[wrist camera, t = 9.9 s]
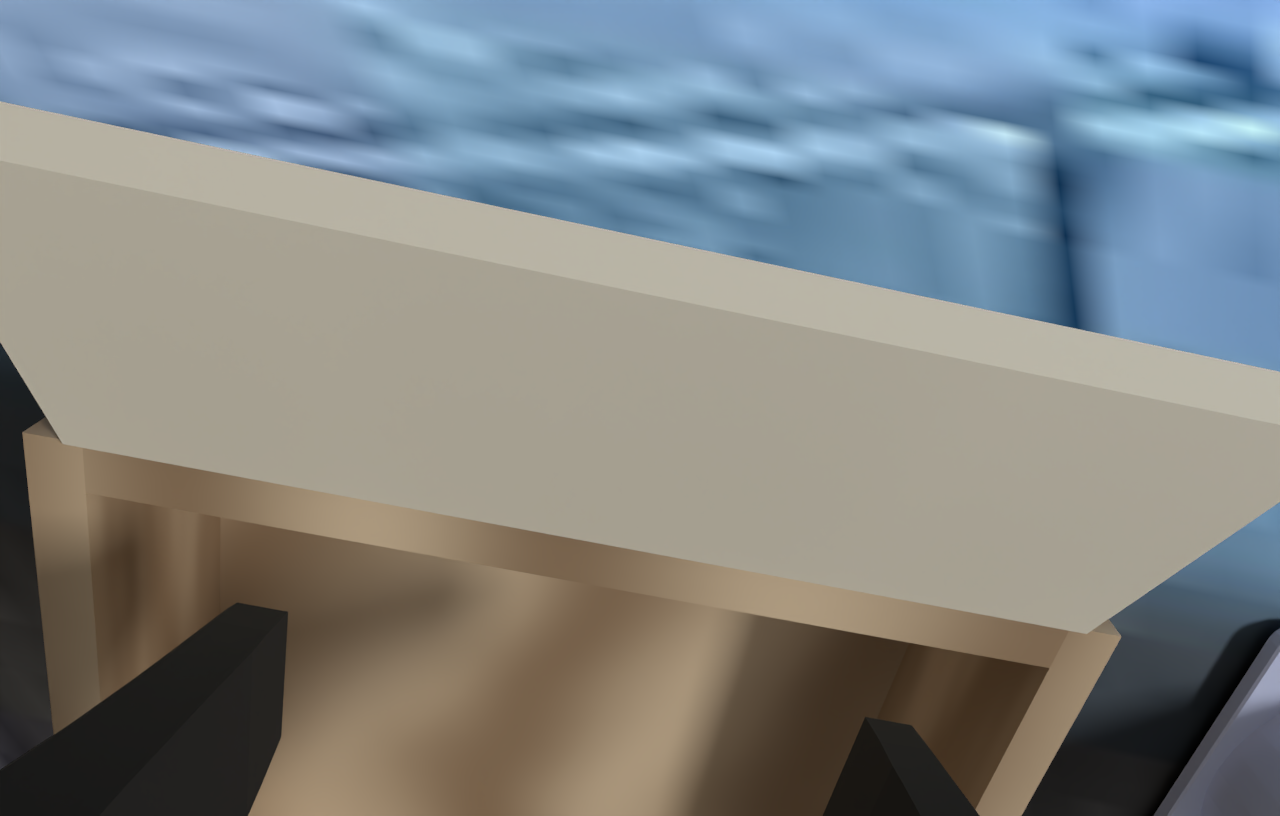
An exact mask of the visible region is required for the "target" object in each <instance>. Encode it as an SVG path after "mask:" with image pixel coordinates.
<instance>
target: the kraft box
mask: <svg viewBox="0 0 1280 816" xmlns="http://www.w3.org/2000/svg"><path fill="white" fill-rule="evenodd" d="M22 434H23V444H24V453H25V463H26V473H27V482H28V492H29V502H30V511H31V521H32V531H33V540H34V550H35V560H36V569H37V579H38V589H39V598H40V608H41V618H42V627H43V637H44V647H45V656H46V666H47V676H48V685H49V695H50V705H51V714H52V724H53V734H56V733H57V732H59V731H60V730H62V729H63V728H65V727H66V726H68V725H69V724H71V723H72V722H73V721H75V720H76V719H78V718H79V717H81V716H82V715H83V714H85V713H86V712H88V711H89V710H90V709H92V708H93V707H95V706H96V705H97V704H99V703H100V702H102V701H103V700H104V699H106V698H107V697H109V696H110V695H112V694H113V693H114V692H116V691H117V690H119V689H120V688H121V687H123V686H124V685H126V684H127V683H128V682H130V681H131V680H133V679H134V678H135V677H137V676H138V675H139V674H141V673H142V672H143V671H145V670H146V669H148V668H149V667H150V666H152V665H153V664H154V663H156V662H157V661H158V660H160V659H161V658H162V657H164V656H165V655H166V654H168V653H169V652H170V651H172V650H173V649H174V648H176V647H177V646H178V645H180V644H181V643H182V642H184V641H185V640H186V639H188V638H189V637H190V636H191V635H193V634H194V633H195V632H197V631H198V630H199V629H201V628H202V627H203V626H205V625H206V624H207V623H209V622H210V621H211V620H212V619H214V618H215V617H216V616H218V615H219V614H220V613H222V612H223V611H224V610H226V609H227V608H229V607H230V606H232V605H234V604H235V603H243V604H248V605H254V606H259V607H265V608H270V609H276V610H281V611H287V612H288V625H287V643H286V661H285V679H284V697H283V715H282V733H281V739H280V741H279V744H278V746H277V749H276V751H275V753H274V756H273V758H272V761H271V763H270V766H269V768H268V770H267V773H266V775H265V778H264V780H263V783H262V785H261V787H260V789H259V792H258V794H257V796H256V799H255V801H254V803H253V806H252V808H251V810H250V813H249V815H248V816H823V813H824V811H825V809H826V806H827V804H828V802H829V800H830V797H831V795H832V793H833V790H834V788H835V786H836V783H837V781H838V779H839V776H840V774H841V772H842V769H843V767H844V765H845V762H846V760H847V758H848V756H849V753H850V751H851V749H852V746H853V744H854V742H855V739H856V737H857V735H858V732H859V730H860V728H861V725H862V723H863V721H864V718H865V717H869V718H874V719H880V720H885V721H891V722H896V723H902V724H907V725H912V726H913V728H914V729H915V730H916V731H917V733H918V734H919V735H920V736H921V738H922V739H923V740H924V742H925V743H926V744H927V746H928V747H929V748H930V750H931V751H932V752H933V754H934V755H935V756H936V758H937V759H938V760H939V762H940V763H941V764H942V766H943V767H944V768H945V770H946V771H947V772H948V774H949V775H950V776H951V778H952V779H953V780H954V782H955V783H956V785H957V786H958V787H959V789H960V790H961V791H962V793H963V794H964V795H965V797H966V798H967V799H968V801H969V802H970V803H971V805H972V806H973V807H974V809H975V810H976V811H977V813H978V814H979V815H980V816H1022V814H1023V812H1024V810H1025V808H1026V807H1027V805H1028V803H1029V801H1030V800H1031V798H1032V796H1033V794H1034V792H1035V791H1036V789H1037V787H1038V785H1039V783H1040V782H1041V780H1042V778H1043V776H1044V774H1045V773H1046V771H1047V769H1048V767H1049V765H1050V764H1051V762H1052V760H1053V758H1054V757H1055V755H1056V753H1057V751H1058V749H1059V748H1060V746H1061V744H1062V742H1063V740H1064V739H1065V737H1066V735H1067V733H1068V731H1069V730H1070V728H1071V726H1072V724H1073V723H1074V721H1075V719H1076V717H1077V715H1078V714H1079V712H1080V710H1081V708H1082V706H1083V705H1084V703H1085V701H1086V699H1087V697H1088V696H1089V694H1090V692H1091V690H1092V688H1093V687H1094V685H1095V683H1096V681H1097V680H1098V678H1099V676H1100V674H1101V672H1102V671H1103V669H1104V667H1105V665H1106V663H1107V662H1108V660H1109V658H1110V656H1111V654H1112V653H1113V651H1114V649H1115V647H1116V646H1117V644H1118V642H1119V640H1120V638H1121V635H1120V634H1119V633H1118V631H1117V630H1116V629H1115V627H1114V626H1113V624H1112V623H1111V622H1110V620H1109V619H1108V620H1106V621H1105V622H1103V623H1102V624H1101V625H1099V626H1098V627H1096V628H1095V629H1093V630H1092V631H1090V632H1089V633H1087V634H1084V633H1079V632H1073V631H1068V630H1062V629H1057V628H1052V627H1046V626H1041V625H1035V624H1030V623H1025V622H1019V621H1014V620H1008V619H1003V618H998V617H992V616H987V615H981V614H976V613H971V612H965V611H960V610H955V609H949V608H944V607H938V606H933V605H928V604H922V603H917V602H911V601H906V600H901V599H895V598H890V597H884V596H879V595H874V594H868V593H863V592H857V591H852V590H847V589H841V588H836V587H830V586H825V585H820V584H814V583H809V582H804V581H798V580H793V579H787V578H782V577H777V576H771V575H766V574H760V573H755V572H750V571H744V570H739V569H733V568H728V567H723V566H717V565H712V564H706V563H701V562H696V561H690V560H685V559H680V558H674V557H669V556H663V555H658V554H653V553H647V552H642V551H636V550H631V549H626V548H620V547H615V546H609V545H604V544H599V543H593V542H588V541H582V540H577V539H572V538H566V537H561V536H556V535H550V534H545V533H539V532H534V531H529V530H523V529H518V528H512V527H507V526H502V525H496V524H491V523H485V522H480V521H475V520H469V519H464V518H458V517H453V516H448V515H442V514H437V513H431V512H426V511H421V510H415V509H410V508H405V507H399V506H394V505H388V504H383V503H378V502H372V501H367V500H361V499H356V498H351V497H345V496H340V495H334V494H329V493H324V492H318V491H313V490H307V489H302V488H297V487H291V486H286V485H281V484H275V483H270V482H264V481H259V480H254V479H248V478H243V477H237V476H232V475H227V474H221V473H216V472H210V471H205V470H200V469H194V468H189V467H183V466H178V465H173V464H167V463H162V462H157V461H151V460H146V459H140V458H135V457H130V456H124V455H119V454H113V453H108V452H103V451H97V450H92V449H86V448H81V447H76V446H70V445H65V444H62V442H61V440H60V439H59V437H58V436H57V434H56V432H55V431H54V429H53V427H52V426H51V424H50V423H49V421H48V419H47V418H46V417H45V418H43V419H42V420H40V421H39V422H37V423H36V424H34V425H33V426H31V427H30V428H28V429H27V430H25V431H24V432H22Z"/></svg>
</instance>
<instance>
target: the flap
mask: <svg viewBox="0 0 1280 816" xmlns="http://www.w3.org/2000/svg"><path fill="white" fill-rule="evenodd" d="M0 343H1V344H2V346H3V348H4V349H5V351H6V352H7V354H8V356H9V357H10V359H11V361H12V362H13V364H14V365H15V367H16V369H17V370H18V372H19V374H20V375H21V377H22V379H23V380H24V382H25V383H26V385H27V387H28V388H29V390H30V392H31V393H32V395H33V396H34V398H35V400H36V401H37V403H38V405H39V406H40V408H41V409H42V411H43V413H44V414H45V416H46V418H47V419H48V421H49V423H50V424H51V426H52V427H53V429H54V431H55V432H56V434H57V436H58V437H59V439H60V440H61V442H62V444H65V445H70V446H76V447H81V448H86V449H92V450H97V451H103V452H108V453H113V454H119V455H124V456H130V457H135V458H140V459H146V460H151V461H157V462H162V463H167V464H173V465H178V466H183V467H189V468H194V469H200V470H205V471H210V472H216V473H221V474H227V475H232V476H237V477H243V478H248V479H254V480H259V481H264V482H270V483H275V484H281V485H286V486H291V487H297V488H302V489H307V490H313V491H318V492H324V493H329V494H334V495H340V496H345V497H351V498H356V499H361V500H367V501H372V502H378V503H383V504H388V505H394V506H399V507H405V508H410V509H415V510H421V511H426V512H431V513H437V514H442V515H448V516H453V517H458V518H464V519H469V520H475V521H480V522H485V523H491V524H496V525H502V526H507V527H512V528H518V529H523V530H529V531H534V532H539V533H545V534H550V535H556V536H561V537H566V538H572V539H577V540H582V541H588V542H593V543H599V544H604V545H609V546H615V547H620V548H626V549H631V550H636V551H642V552H647V553H653V554H658V555H663V556H669V557H674V558H680V559H685V560H690V561H696V562H701V563H706V564H712V565H717V566H723V567H728V568H733V569H739V570H744V571H750V572H755V573H760V574H766V575H771V576H777V577H782V578H787V579H793V580H798V581H804V582H809V583H814V584H820V585H825V586H830V587H836V588H841V589H847V590H852V591H857V592H863V593H868V594H874V595H879V596H884V597H890V598H895V599H901V600H906V601H911V602H917V603H922V604H928V605H933V606H938V607H944V608H949V609H955V610H960V611H965V612H971V613H976V614H981V615H987V616H992V617H998V618H1003V619H1008V620H1014V621H1019V622H1025V623H1030V624H1035V625H1041V626H1046V627H1052V628H1057V629H1062V630H1068V631H1073V632H1079V633H1084V634H1087V633H1089V632H1090V631H1092V630H1093V629H1095V628H1096V627H1098V626H1099V625H1101V624H1102V623H1103V622H1105V621H1106V620H1108V619H1109V618H1111V617H1112V616H1114V615H1115V614H1117V613H1118V612H1120V611H1121V610H1122V609H1124V608H1125V607H1127V606H1128V605H1130V604H1131V603H1133V602H1134V601H1136V600H1137V599H1139V598H1140V597H1141V596H1143V595H1144V594H1146V593H1147V592H1149V591H1150V590H1152V589H1153V588H1155V587H1156V586H1158V585H1159V584H1160V583H1162V582H1163V581H1165V580H1166V579H1168V578H1169V577H1171V576H1172V575H1174V574H1175V573H1177V572H1178V571H1179V570H1181V569H1182V568H1184V567H1185V566H1187V565H1188V564H1190V563H1191V562H1193V561H1194V560H1196V559H1197V558H1198V557H1200V556H1201V555H1203V554H1204V553H1206V552H1207V551H1209V550H1210V549H1212V548H1213V547H1215V546H1216V545H1217V544H1219V543H1220V542H1222V541H1223V540H1225V539H1226V538H1228V537H1229V536H1231V535H1232V534H1234V533H1235V532H1236V531H1238V530H1239V529H1241V528H1242V527H1244V526H1245V525H1247V524H1248V523H1250V522H1251V521H1253V520H1254V519H1255V518H1257V517H1258V516H1260V515H1261V514H1263V513H1264V512H1266V511H1267V510H1269V509H1270V508H1272V507H1273V506H1274V505H1276V504H1277V503H1279V502H1280V372H1278V371H1273V370H1269V369H1264V368H1259V367H1254V366H1250V365H1245V364H1240V363H1236V362H1231V361H1226V360H1221V359H1217V358H1212V357H1207V356H1202V355H1198V354H1193V353H1188V352H1183V351H1179V350H1174V349H1169V348H1164V347H1160V346H1155V345H1150V344H1146V343H1141V342H1136V341H1131V340H1127V339H1122V338H1117V337H1112V336H1108V335H1103V334H1098V333H1093V332H1089V331H1084V330H1079V329H1075V328H1070V327H1065V326H1060V325H1056V324H1051V323H1046V322H1041V321H1037V320H1032V319H1027V318H1022V317H1018V316H1013V315H1008V314H1004V313H999V312H994V311H989V310H985V309H980V308H975V307H970V306H966V305H961V304H956V303H951V302H947V301H942V300H937V299H933V298H928V297H923V296H918V295H914V294H909V293H904V292H899V291H895V290H890V289H885V288H880V287H876V286H871V285H866V284H862V283H857V282H852V281H847V280H843V279H838V278H833V277H828V276H824V275H819V274H814V273H809V272H805V271H800V270H795V269H790V268H786V267H781V266H776V265H772V264H767V263H762V262H757V261H753V260H748V259H743V258H738V257H734V256H729V255H724V254H719V253H715V252H710V251H705V250H701V249H696V248H691V247H686V246H682V245H677V244H672V243H667V242H663V241H658V240H653V239H648V238H644V237H639V236H634V235H630V234H625V233H620V232H615V231H611V230H606V229H601V228H596V227H592V226H587V225H582V224H577V223H573V222H568V221H563V220H559V219H554V218H549V217H544V216H540V215H535V214H530V213H525V212H521V211H516V210H511V209H506V208H502V207H497V206H492V205H487V204H483V203H478V202H473V201H469V200H464V199H459V198H454V197H450V196H445V195H440V194H435V193H431V192H426V191H421V190H416V189H412V188H407V187H402V186H398V185H393V184H388V183H383V182H379V181H374V180H369V179H364V178H360V177H355V176H350V175H345V174H341V173H336V172H331V171H327V170H322V169H317V168H312V167H308V166H303V165H298V164H293V163H289V162H284V161H279V160H274V159H270V158H265V157H260V156H256V155H251V154H246V153H241V152H237V151H232V150H227V149H222V148H218V147H213V146H208V145H203V144H199V143H194V142H189V141H184V140H180V139H175V138H170V137H166V136H161V135H156V134H151V133H147V132H142V131H137V130H132V129H128V128H123V127H118V126H113V125H109V124H104V123H99V122H95V121H90V120H85V119H80V118H76V117H71V116H66V115H61V114H57V113H52V112H47V111H42V110H38V109H33V108H28V107H24V106H19V105H14V104H9V103H5V102H0Z"/></svg>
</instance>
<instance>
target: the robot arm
mask: <svg viewBox="0 0 1280 816" xmlns="http://www.w3.org/2000/svg"><path fill="white" fill-rule="evenodd" d="M287 625H288V612H287V611H281V610H276V609H270V608H265V607H259V606H254V605H248V604H243V603H235V604H234V605H232V606H230V607H229V608H227V609H226V610H224V611H223V612H222V613H220V614H219V615H218V616H216V617H215V618H214V619H212V620H211V621H210V622H209V623H207V624H206V625H205V626H203V627H202V628H201V629H199V630H198V631H197V632H195V633H194V634H193V635H191V636H190V637H189V638H188V639H186V640H185V641H184V642H182V643H181V644H180V645H178V646H177V647H176V648H174V649H173V650H172V651H170V652H169V653H168V654H166V655H165V656H164V657H162V658H161V659H160V660H158V661H157V662H156V663H154V664H153V665H152V666H150V667H149V668H148V669H146V670H145V671H143V672H142V673H141V674H139V675H138V676H137V677H135V678H134V679H133V680H131V681H130V682H128V683H127V684H126V685H124V686H123V687H121V688H120V689H119V690H117V691H116V692H114V693H113V694H112V695H110V696H109V697H107V698H106V699H104V700H103V701H102V702H100V703H99V704H97V705H96V706H95V707H93V708H92V709H90V710H89V711H88V712H86V713H85V714H83V715H82V716H81V717H79V718H78V719H76V720H75V721H73V722H72V723H71V724H69V725H68V726H66V727H65V728H63V729H62V730H60V731H59V732H57V733H56V734H54V735H53V736H51V737H50V738H48V739H47V740H45V741H44V742H42V743H40V744H39V745H37V746H36V747H34V748H33V749H31V750H30V751H28V752H27V753H25V754H24V755H22V756H21V757H19V758H17V759H16V760H14V761H13V762H11V763H10V764H8V765H7V766H5V767H4V768H2V769H1V770H0V816H248V815H249V813H250V810H251V808H252V806H253V803H254V801H255V799H256V796H257V794H258V792H259V789H260V787H261V785H262V783H263V780H264V778H265V775H266V773H267V770H268V768H269V766H270V763H271V761H272V758H273V756H274V753H275V751H276V749H277V746H278V744H279V741H280V739H281V733H282V715H283V697H284V679H285V661H286V643H287ZM823 816H980V815H979V814H978V813H977V811H976V810H975V809H974V807H973V806H972V805H971V803H970V802H969V801H968V799H967V798H966V797H965V795H964V794H963V793H962V791H961V790H960V789H959V787H958V786H957V785H956V783H955V782H954V780H953V779H952V778H951V776H950V775H949V774H948V772H947V771H946V770H945V768H944V767H943V766H942V764H941V763H940V762H939V760H938V759H937V758H936V756H935V755H934V754H933V752H932V751H931V750H930V748H929V747H928V746H927V744H926V743H925V742H924V740H923V739H922V738H921V736H920V735H919V734H918V733H917V731H916V730H915V729H914V728H913V726H912V725H907V724H902V723H896V722H891V721H885V720H880V719H874V718H869V717H865V718H864V721H863V723H862V725H861V728H860V730H859V732H858V735H857V737H856V739H855V742H854V744H853V746H852V749H851V751H850V753H849V756H848V758H847V760H846V762H845V765H844V767H843V769H842V772H841V774H840V776H839V779H838V781H837V783H836V786H835V788H834V790H833V793H832V795H831V797H830V800H829V802H828V804H827V806H826V809H825V811H824V813H823ZM1154 816H1280V629H1278V630H1276V631H1275V632H1274V633H1273V634H1272V635H1271V636H1270V637H1269V638H1268V640H1267V642H1266V643H1265V645H1264V646H1263V648H1262V649H1261V651H1260V652H1259V654H1258V655H1257V657H1256V658H1255V660H1254V662H1253V663H1252V665H1251V666H1250V668H1249V669H1248V671H1247V672H1246V674H1245V675H1244V677H1243V678H1242V680H1241V682H1240V683H1239V685H1238V686H1237V688H1236V689H1235V691H1234V692H1233V694H1232V695H1231V697H1230V698H1229V700H1228V702H1227V703H1226V705H1225V706H1224V708H1223V709H1222V711H1221V712H1220V714H1219V715H1218V717H1217V719H1216V720H1215V722H1214V723H1213V725H1212V726H1211V728H1210V729H1209V731H1208V732H1207V734H1206V735H1205V737H1204V739H1203V740H1202V742H1201V743H1200V745H1199V746H1198V748H1197V749H1196V751H1195V752H1194V754H1193V755H1192V757H1191V759H1190V760H1189V762H1188V763H1187V765H1186V766H1185V768H1184V769H1183V771H1182V772H1181V774H1180V775H1179V777H1178V779H1177V780H1176V782H1175V783H1174V785H1173V786H1172V788H1171V789H1170V791H1169V792H1168V794H1167V796H1166V797H1165V799H1164V800H1163V802H1162V803H1161V805H1160V806H1159V808H1158V809H1157V811H1156V812H1155V814H1154Z"/></svg>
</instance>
